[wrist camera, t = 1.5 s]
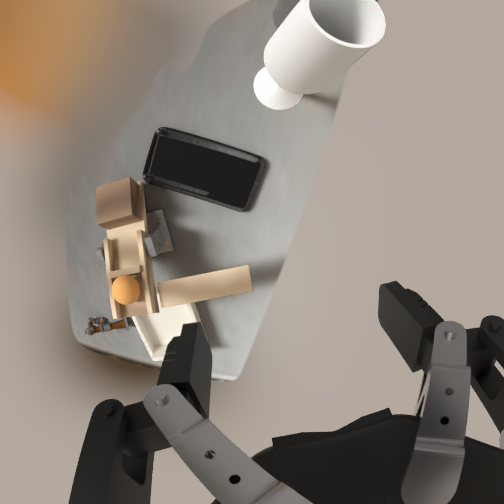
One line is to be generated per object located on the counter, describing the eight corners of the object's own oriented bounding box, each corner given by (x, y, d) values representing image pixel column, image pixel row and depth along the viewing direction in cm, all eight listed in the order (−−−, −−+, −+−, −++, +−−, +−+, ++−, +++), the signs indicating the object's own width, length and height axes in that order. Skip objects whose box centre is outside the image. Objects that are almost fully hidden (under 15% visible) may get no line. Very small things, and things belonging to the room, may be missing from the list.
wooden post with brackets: (82, 316, 42) (82, 330, 39) (124, 308, 46) (127, 321, 42) (85, 324, 43) (85, 339, 39) (126, 316, 46) (129, 330, 43)
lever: (108, 194, 36) (94, 184, 32) (228, 162, 36) (224, 147, 32) (121, 318, 33) (105, 320, 29) (254, 295, 33) (252, 294, 29)
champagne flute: (256, 60, 31) (289, -43, 9) (306, 68, 32) (398, -9, 9) (250, 106, 33) (279, 48, 11) (301, 114, 34) (399, 80, 12)
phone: (157, 124, 33) (267, 159, 35) (159, 125, 34) (266, 158, 36) (140, 181, 35) (246, 215, 38) (142, 180, 36) (246, 213, 39)
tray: (130, 295, 42) (123, 307, 39) (189, 285, 42) (186, 297, 39) (154, 348, 46) (150, 361, 43) (208, 340, 46) (207, 354, 43)
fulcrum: (107, 223, 38) (87, 238, 32) (162, 208, 38) (150, 221, 32) (120, 261, 40) (103, 281, 34) (174, 249, 40) (164, 268, 34)
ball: (114, 273, 32) (102, 284, 29) (138, 268, 32) (128, 279, 29) (123, 298, 33) (113, 311, 30) (147, 294, 33) (139, 307, 30)
